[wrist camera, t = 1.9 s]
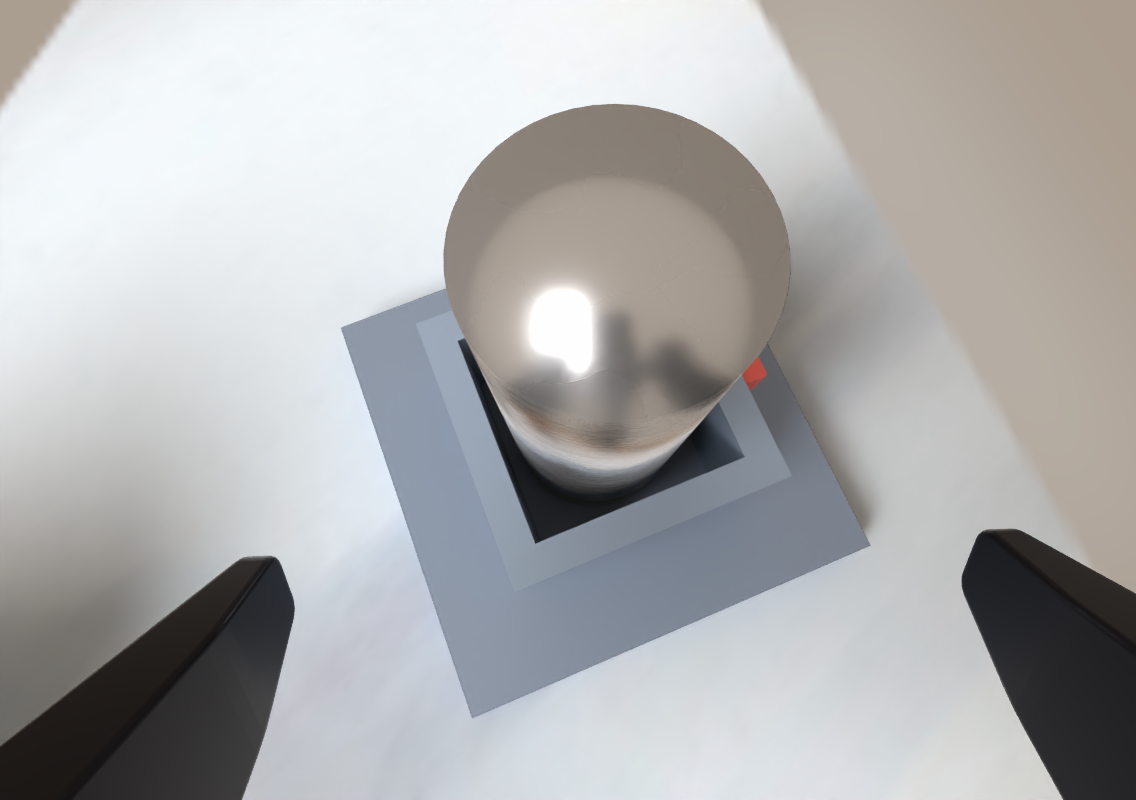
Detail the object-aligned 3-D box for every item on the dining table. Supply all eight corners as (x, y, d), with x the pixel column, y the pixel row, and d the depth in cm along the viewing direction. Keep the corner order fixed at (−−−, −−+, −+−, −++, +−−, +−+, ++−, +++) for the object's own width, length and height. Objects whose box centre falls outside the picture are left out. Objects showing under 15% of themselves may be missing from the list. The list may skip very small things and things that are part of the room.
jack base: (855, 546, 19) (950, 540, 14) (477, 710, 18) (442, 762, 13) (686, 213, 22) (718, 112, 17) (351, 338, 21) (284, 270, 16)
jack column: (693, 470, 18) (853, 340, 8) (551, 529, 18) (516, 477, 7) (632, 336, 20) (699, 62, 9) (496, 389, 19) (397, 169, 9)
